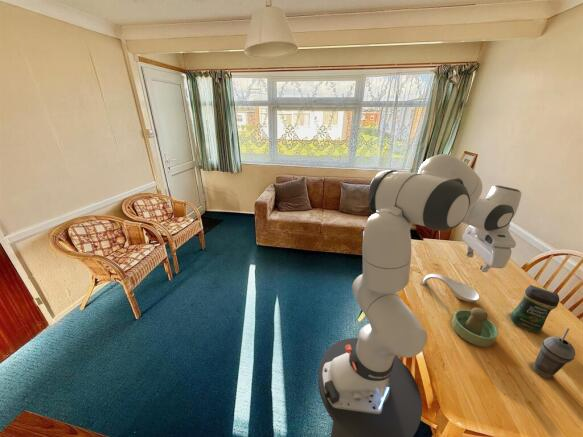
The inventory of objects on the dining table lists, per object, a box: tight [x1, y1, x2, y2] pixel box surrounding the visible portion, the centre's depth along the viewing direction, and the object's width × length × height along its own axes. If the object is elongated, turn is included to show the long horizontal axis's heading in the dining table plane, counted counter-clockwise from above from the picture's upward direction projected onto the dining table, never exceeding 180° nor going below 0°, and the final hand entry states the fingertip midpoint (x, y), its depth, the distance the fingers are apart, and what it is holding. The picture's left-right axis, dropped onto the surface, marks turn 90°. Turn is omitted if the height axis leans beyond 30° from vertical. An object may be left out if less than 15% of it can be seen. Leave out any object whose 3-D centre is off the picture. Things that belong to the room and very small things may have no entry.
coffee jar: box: [510, 284, 560, 333], centre depth 94 cm, size 10×8×19 cm
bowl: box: [451, 309, 499, 348], centre depth 93 cm, size 14×14×5 cm
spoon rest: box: [422, 273, 480, 303], centre depth 114 cm, size 24×12×7 cm, turn 55°
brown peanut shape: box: [463, 307, 489, 336], centre depth 92 cm, size 6×6×11 cm
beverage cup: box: [532, 327, 576, 379], centre depth 76 cm, size 7×7×20 cm
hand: (475, 263), depth 86 cm, fingers open, 8 cm apart
